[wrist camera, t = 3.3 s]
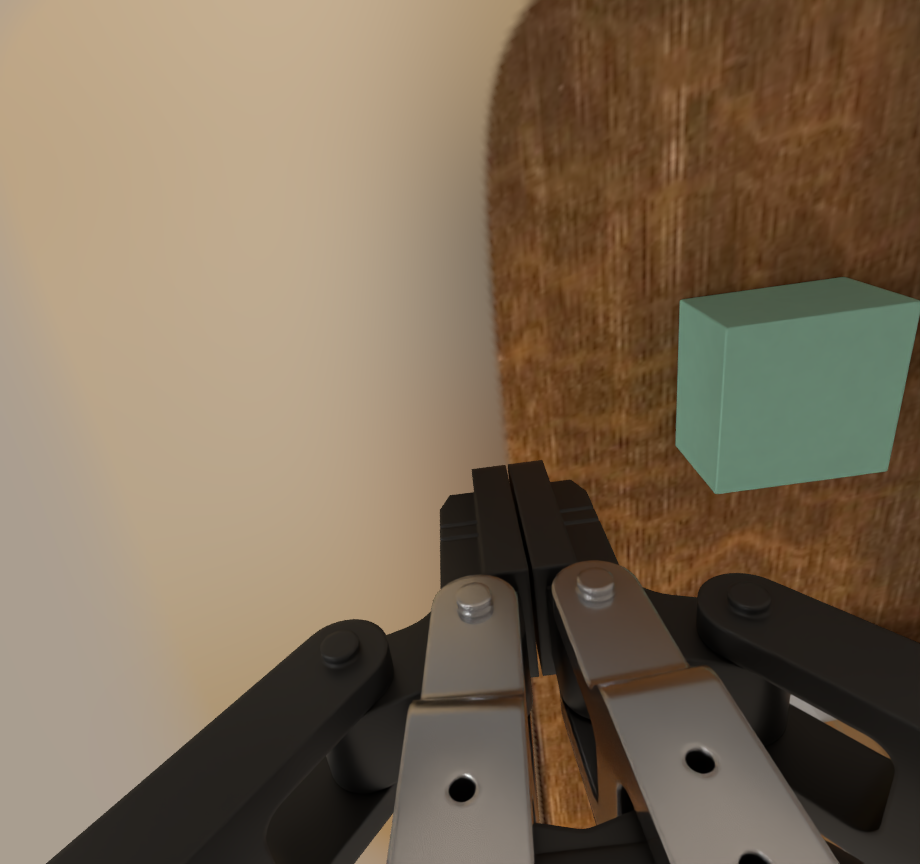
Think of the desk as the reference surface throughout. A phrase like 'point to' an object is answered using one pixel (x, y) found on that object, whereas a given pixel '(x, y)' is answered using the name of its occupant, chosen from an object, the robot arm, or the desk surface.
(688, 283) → the desk surface
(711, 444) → the block
